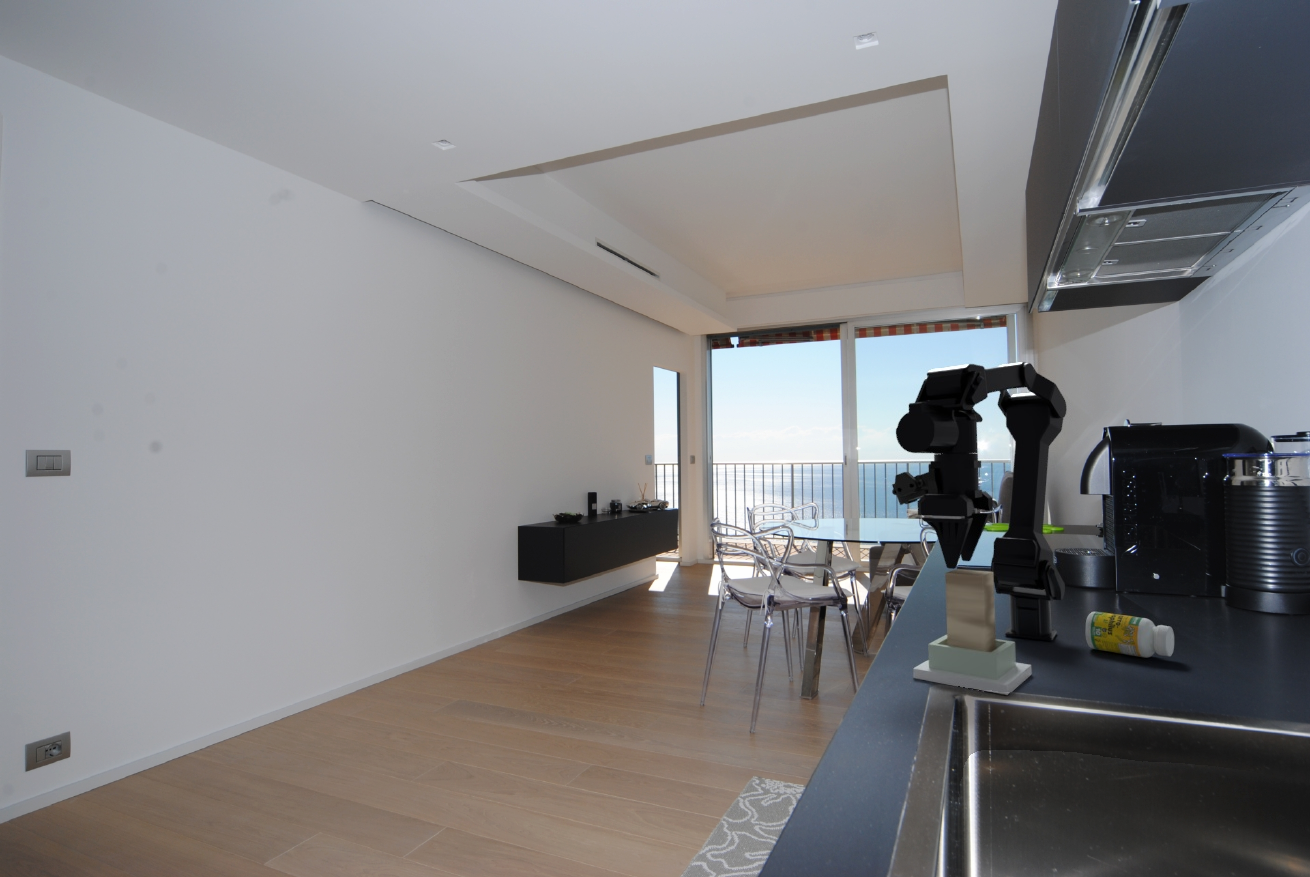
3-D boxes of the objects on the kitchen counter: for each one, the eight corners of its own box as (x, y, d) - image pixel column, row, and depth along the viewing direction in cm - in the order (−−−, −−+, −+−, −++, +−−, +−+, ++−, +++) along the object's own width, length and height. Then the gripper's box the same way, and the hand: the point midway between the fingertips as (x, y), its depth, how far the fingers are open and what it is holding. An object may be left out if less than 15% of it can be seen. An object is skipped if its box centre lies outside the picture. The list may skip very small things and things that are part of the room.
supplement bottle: (1091, 655, 101) (1171, 670, 93) (1081, 632, 99) (1161, 645, 91) (1100, 626, 103) (1178, 638, 96) (1090, 603, 101) (1169, 613, 94)
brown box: (960, 659, 91) (957, 568, 92) (996, 666, 88) (993, 572, 89) (948, 667, 88) (945, 572, 89) (985, 674, 85) (982, 576, 86)
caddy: (944, 659, 96) (943, 629, 96) (1031, 674, 89) (1030, 641, 89) (913, 677, 88) (912, 644, 88) (1006, 696, 80) (1005, 659, 81)
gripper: (915, 456, 110) (918, 554, 109) (877, 454, 95) (880, 568, 94) (991, 454, 104) (995, 559, 103) (964, 452, 88) (968, 574, 88)
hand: (959, 564), depth 97 cm, fingers open, 9 cm apart
